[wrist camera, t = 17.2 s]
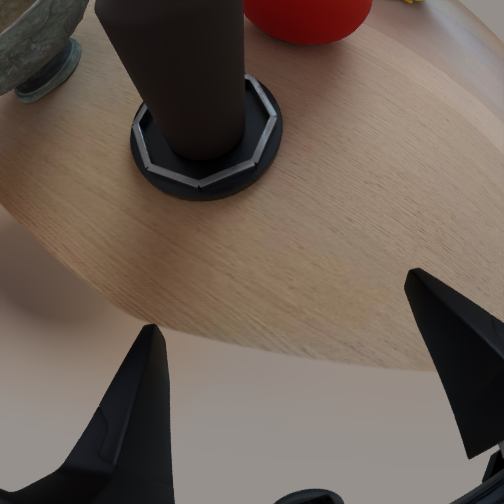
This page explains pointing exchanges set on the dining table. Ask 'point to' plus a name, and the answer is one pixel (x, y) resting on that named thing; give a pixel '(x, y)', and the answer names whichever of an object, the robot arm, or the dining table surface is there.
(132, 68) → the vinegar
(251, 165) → the stand
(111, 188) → the dining table surface
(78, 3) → the bowl
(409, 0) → the teapot
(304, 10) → the tomato
